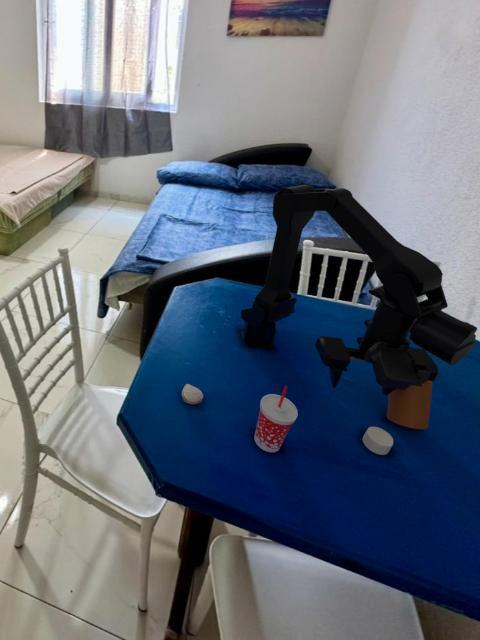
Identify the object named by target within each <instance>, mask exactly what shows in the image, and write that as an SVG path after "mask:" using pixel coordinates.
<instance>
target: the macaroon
mask: <svg viewBox="0 0 480 640" xmlns="http://www.w3.org/2000/svg"><path fill="white" fill-rule="evenodd" d="M181 397H182V400H183V402H185V403H186V404H189V405H197V404H200V403H202V401H203V399H204V394H203V392H202V391H201V389H199V388H198V387H197V386H194V385H191V384H189V383H186V384H185V385H184V387H183V388H182V391H181Z"/></svg>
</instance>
